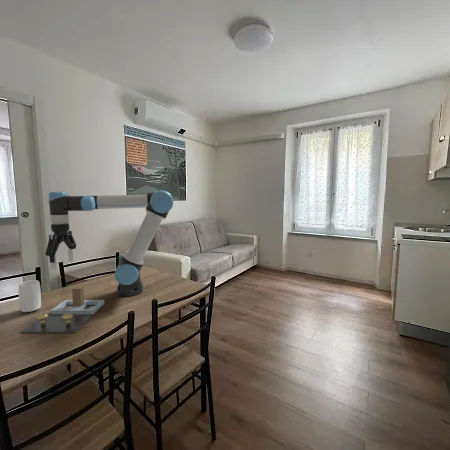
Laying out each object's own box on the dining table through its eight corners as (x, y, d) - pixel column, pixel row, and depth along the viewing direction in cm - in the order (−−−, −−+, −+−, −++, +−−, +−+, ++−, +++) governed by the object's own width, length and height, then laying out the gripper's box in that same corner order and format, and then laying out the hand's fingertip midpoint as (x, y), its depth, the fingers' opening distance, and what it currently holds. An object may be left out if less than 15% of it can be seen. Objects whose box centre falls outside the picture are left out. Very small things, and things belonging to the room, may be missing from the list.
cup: (24, 316, 115) (21, 287, 114) (17, 311, 120) (14, 283, 118) (45, 309, 122) (43, 282, 121) (37, 305, 127) (35, 278, 125)
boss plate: (91, 316, 117) (91, 305, 116) (75, 332, 103) (74, 320, 102) (44, 316, 116) (43, 305, 115) (20, 332, 102) (19, 320, 101)
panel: (93, 314, 118) (92, 292, 117) (50, 314, 118) (49, 292, 116) (104, 303, 130) (103, 283, 129) (65, 303, 129) (64, 283, 128)
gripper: (68, 220, 133) (70, 258, 136) (33, 226, 109) (37, 272, 111) (81, 220, 134) (84, 258, 136) (50, 226, 109) (54, 272, 111)
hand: (63, 264), depth 124 cm, fingers open, 13 cm apart
